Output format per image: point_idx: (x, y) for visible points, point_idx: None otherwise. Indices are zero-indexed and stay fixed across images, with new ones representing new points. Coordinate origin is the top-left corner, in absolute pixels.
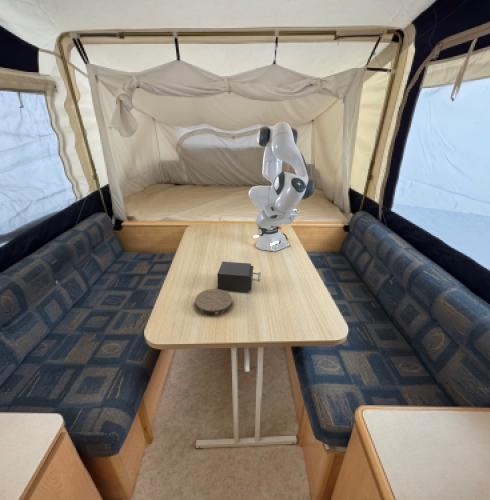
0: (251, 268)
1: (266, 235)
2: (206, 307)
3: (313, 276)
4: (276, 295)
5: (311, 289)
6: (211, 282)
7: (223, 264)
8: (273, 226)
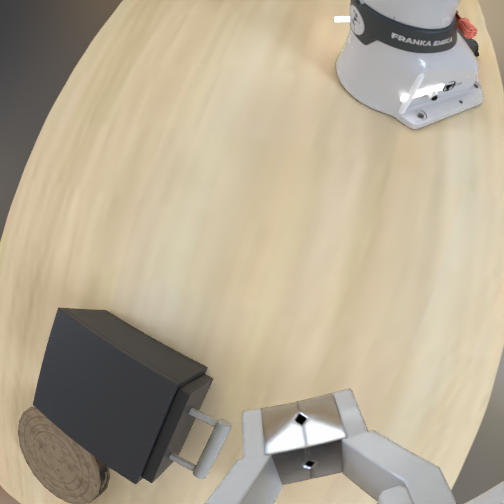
0: (173, 416)
1: (389, 51)
2: (41, 477)
3: (486, 398)
4: None
5: None
6: None
7: (56, 339)
8: (358, 476)
